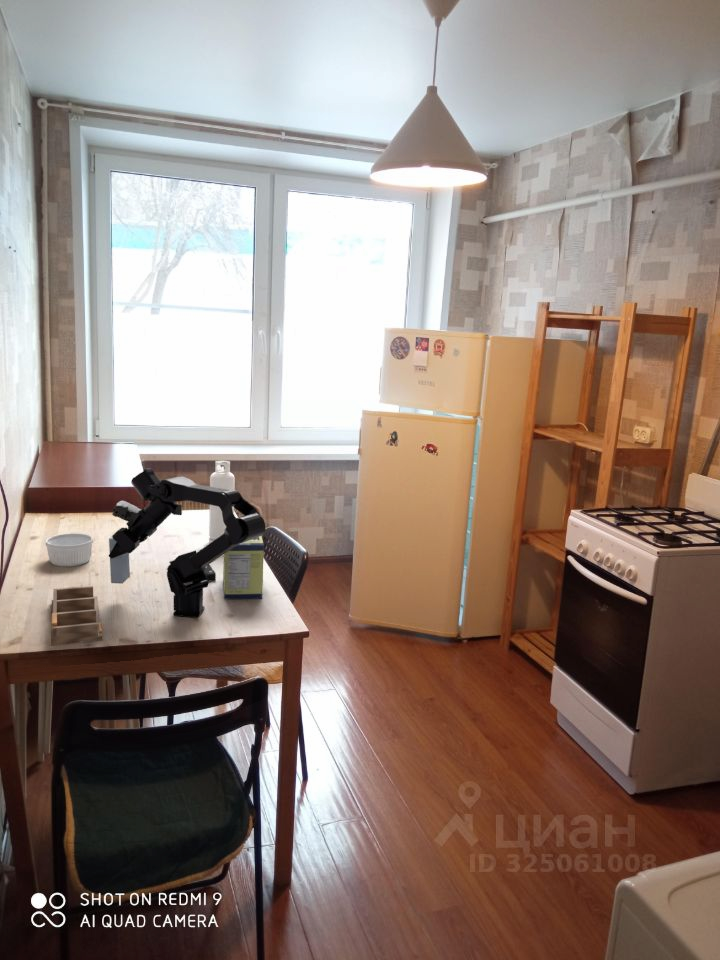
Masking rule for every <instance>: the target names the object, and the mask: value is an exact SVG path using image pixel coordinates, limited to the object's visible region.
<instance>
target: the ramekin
mask: <svg viewBox="0 0 720 960" xmlns="http://www.w3.org/2000/svg"><path fill="white" fill-rule="evenodd" d="M93 543H94V537H93V536H91V535H90V534H87V533H80V532H79V533H78V532H74V533H73V532H69V533H61V534H55V535H52V536H50V537H48V538H47V539H46V540H45V546H46V549H47V556H48V561H50V563H51V564H53V565H54V566H56V567H75V566H81V565H84V564H87V563H88V562H89V561H90V559H91V557H92V551H93V550H92V549H93Z"/></svg>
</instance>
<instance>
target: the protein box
mask: <svg viewBox="0 0 720 960" xmlns="http://www.w3.org/2000/svg"><path fill="white" fill-rule="evenodd" d="M224 532H225V529H224ZM264 549H265V544H264V541H263V535H262V536H260V537H257V538H254V539H251V540H249V541H246V542H243V543H240V544H238V545H237V546H235V547H234V548H233V549H231V550H230V551H228V552H227V553H225V554H224V555H223V569H222V570H223V571H222V574H223V580H222V581H223V597H224V600H244V599H245V600H246V599H247V600H248V599H250V600H251V599H263V585H264V553H265V550H264Z"/></svg>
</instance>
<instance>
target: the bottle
mask: <svg viewBox="0 0 720 960" xmlns="http://www.w3.org/2000/svg"><path fill="white" fill-rule="evenodd" d="M214 465H215V468H214V469H215V470H214V471H215V472H212V473H211V474H210V476H209V487H215V488H221V489H226V490H236V487H235V485H236V484H235V480H236V479H235V475H234V473H232V472H231V461H229V460H215V464H214ZM232 510H233V514H234V515H235V508H234V507H232ZM208 523H209V524H208V529H209V530H208V531H209V532H208V536H209V537H208V544H209V543H211V542H213V541H214V540H215V539H217V538H218V537H220V536H221V535H222V534H224V529H226V525H225V524H224V522H223V516H222V511H221V509H220V508H219V506H213V505H209V521H208Z"/></svg>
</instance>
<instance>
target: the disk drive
mask: <svg viewBox="0 0 720 960" xmlns="http://www.w3.org/2000/svg"><path fill="white" fill-rule="evenodd" d="M204 573H205V574H206V576H207V577H208V579H209V582H210V581H211V582H212V581H216V579H217V575H216V571H215V570H214V569H213V568H212V566H211V565H210V564H209V565H207V566H206V568H205V571H204ZM190 582H193V580H192V581H189V582H186V583H185V584H187V583H190Z"/></svg>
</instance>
